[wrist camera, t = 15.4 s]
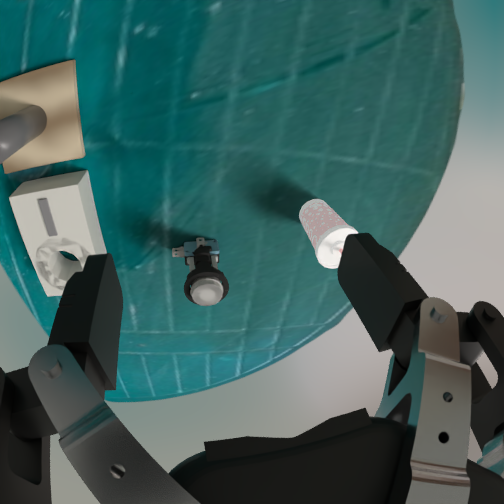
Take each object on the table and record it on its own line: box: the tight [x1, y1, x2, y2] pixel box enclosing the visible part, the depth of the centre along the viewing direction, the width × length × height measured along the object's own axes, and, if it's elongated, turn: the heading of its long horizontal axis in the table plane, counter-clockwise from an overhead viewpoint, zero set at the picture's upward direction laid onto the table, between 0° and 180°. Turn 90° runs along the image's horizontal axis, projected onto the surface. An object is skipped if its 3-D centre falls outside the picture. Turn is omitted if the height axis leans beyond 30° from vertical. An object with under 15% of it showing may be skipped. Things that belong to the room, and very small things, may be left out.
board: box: [0, 60, 85, 174], centre depth 27 cm, size 12×12×1 cm
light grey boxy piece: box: [9, 170, 107, 296], centre depth 35 cm, size 16×10×5 cm, turn 178°
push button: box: [172, 238, 229, 306], centre depth 40 cm, size 7×5×10 cm
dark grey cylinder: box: [0, 105, 47, 164], centre depth 23 cm, size 4×4×11 cm
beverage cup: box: [299, 199, 358, 269], centre depth 39 cm, size 6×6×14 cm
